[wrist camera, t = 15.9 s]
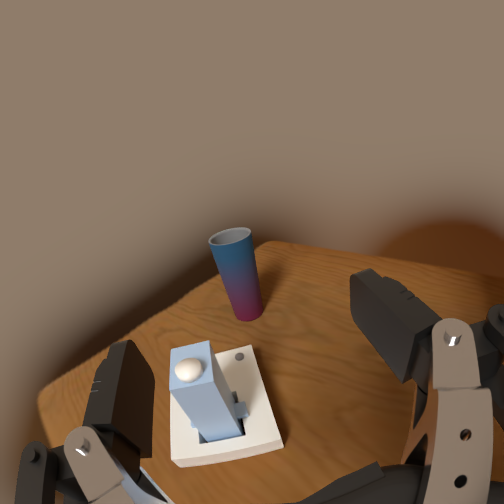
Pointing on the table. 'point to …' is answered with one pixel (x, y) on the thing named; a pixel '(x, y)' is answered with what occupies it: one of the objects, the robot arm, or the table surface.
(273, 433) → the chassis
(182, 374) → the block
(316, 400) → the table surface
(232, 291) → the cup
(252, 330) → the table surface
